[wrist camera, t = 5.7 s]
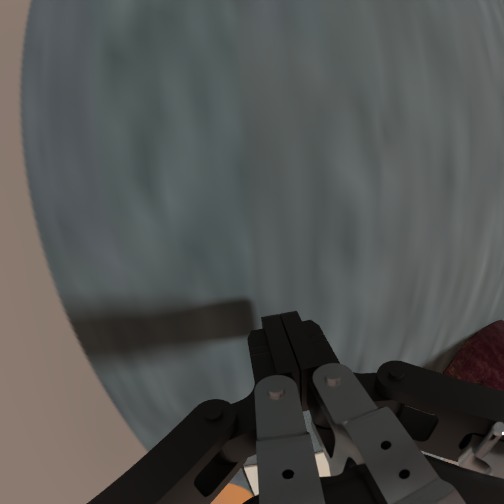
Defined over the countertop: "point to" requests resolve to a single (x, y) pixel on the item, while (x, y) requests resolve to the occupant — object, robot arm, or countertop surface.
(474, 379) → the vegetable
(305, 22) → the countertop surface
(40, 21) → the countertop surface
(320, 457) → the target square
